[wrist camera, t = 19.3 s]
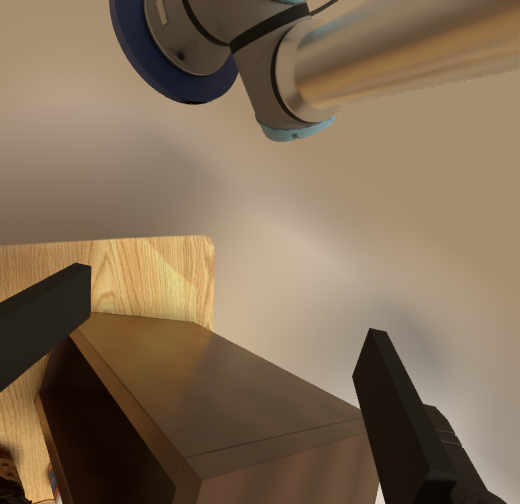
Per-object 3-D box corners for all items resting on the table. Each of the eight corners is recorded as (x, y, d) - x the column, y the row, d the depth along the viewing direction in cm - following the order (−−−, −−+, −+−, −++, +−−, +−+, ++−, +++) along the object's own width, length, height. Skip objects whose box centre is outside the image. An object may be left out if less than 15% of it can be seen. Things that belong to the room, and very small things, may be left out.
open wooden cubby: (194, 322, 59) (390, 425, 31) (176, 392, 58) (362, 565, 30) (61, 308, 44) (202, 480, 16) (33, 401, 43) (132, 762, 15)
